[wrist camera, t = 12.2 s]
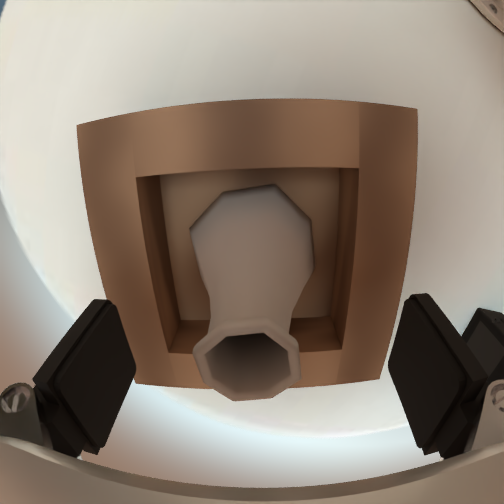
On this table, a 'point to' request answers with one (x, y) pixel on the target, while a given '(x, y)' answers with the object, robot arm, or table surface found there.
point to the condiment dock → (245, 176)
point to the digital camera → (487, 342)
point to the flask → (252, 290)
